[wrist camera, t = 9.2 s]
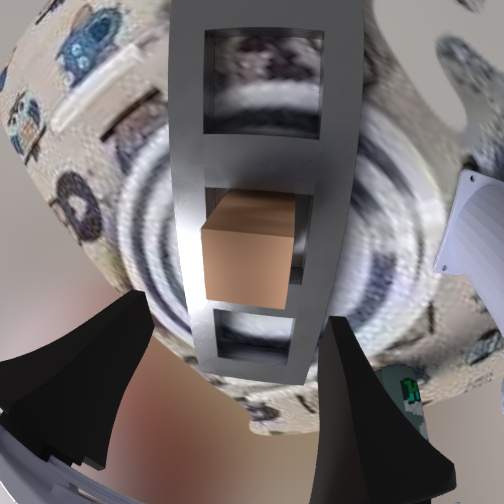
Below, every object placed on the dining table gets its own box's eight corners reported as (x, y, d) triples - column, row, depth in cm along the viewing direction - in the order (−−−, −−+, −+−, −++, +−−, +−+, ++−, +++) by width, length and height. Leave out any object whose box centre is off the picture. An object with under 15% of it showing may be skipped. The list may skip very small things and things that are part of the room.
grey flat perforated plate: (355, 4, 9) (362, -8, 8) (304, 369, 25) (303, 385, 23) (185, 2, 10) (172, -7, 9) (205, 356, 26) (200, 371, 24)
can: (407, 388, 25) (421, 500, 13) (360, 397, 27) (363, 513, 14) (417, 360, 22) (441, 492, 10) (363, 371, 24) (370, 510, 11)
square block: (295, 192, 16) (294, 237, 11) (289, 248, 18) (284, 309, 13) (230, 186, 17) (200, 228, 12) (231, 242, 19) (206, 299, 14)
